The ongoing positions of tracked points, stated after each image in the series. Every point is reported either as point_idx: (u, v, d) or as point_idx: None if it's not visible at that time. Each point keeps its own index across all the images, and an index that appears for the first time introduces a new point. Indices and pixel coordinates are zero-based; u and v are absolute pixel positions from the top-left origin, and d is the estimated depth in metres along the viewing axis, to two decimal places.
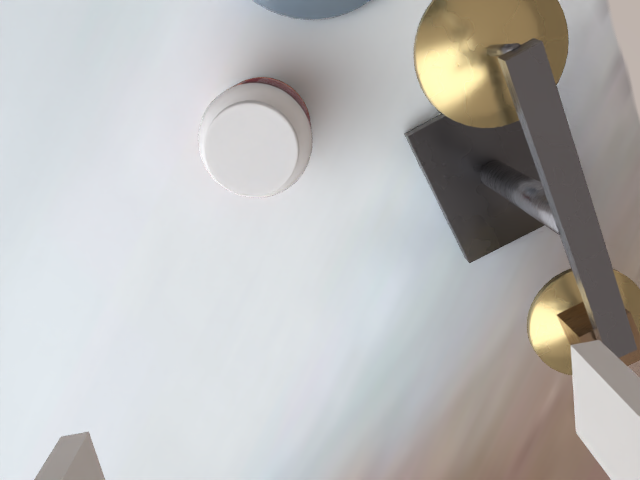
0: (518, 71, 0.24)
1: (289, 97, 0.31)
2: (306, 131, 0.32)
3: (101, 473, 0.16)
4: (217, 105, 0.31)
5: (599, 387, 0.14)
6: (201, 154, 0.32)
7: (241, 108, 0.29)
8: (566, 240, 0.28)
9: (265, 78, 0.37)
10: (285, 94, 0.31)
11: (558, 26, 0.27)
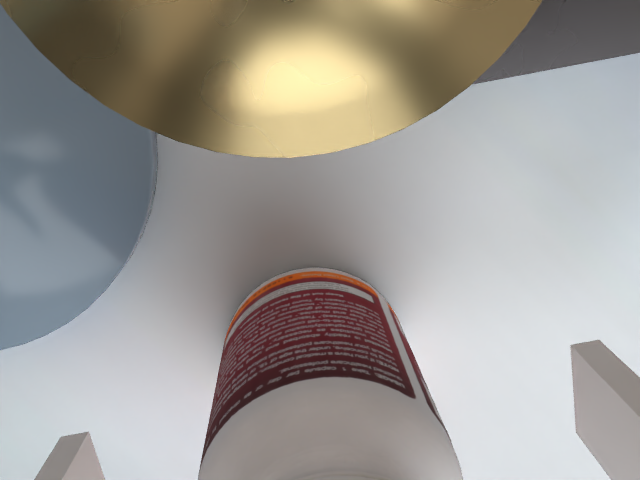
0: None
1: (254, 416, 0.13)
2: (346, 414, 0.12)
3: (101, 473, 0.16)
4: None
5: (598, 387, 0.14)
6: None
7: None
8: None
9: (226, 341, 0.19)
10: (244, 423, 0.13)
11: None
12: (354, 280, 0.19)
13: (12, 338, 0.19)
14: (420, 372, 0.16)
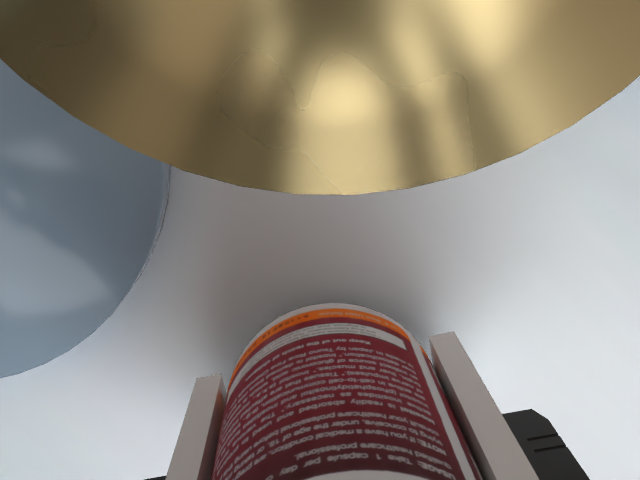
0: None
1: None
2: None
3: None
4: None
5: (442, 373, 0.16)
6: None
7: None
8: None
9: (230, 392, 0.16)
10: None
11: None
12: (381, 319, 0.16)
13: (7, 366, 0.17)
14: (466, 442, 0.13)
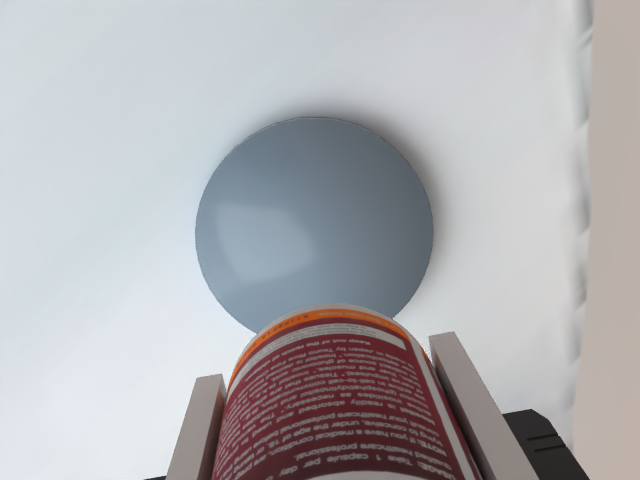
0: None
1: None
2: None
3: None
4: None
5: (442, 372, 0.16)
6: None
7: None
8: None
9: (229, 393, 0.16)
10: None
11: None
12: (381, 320, 0.16)
13: (206, 270, 0.33)
14: (466, 443, 0.13)
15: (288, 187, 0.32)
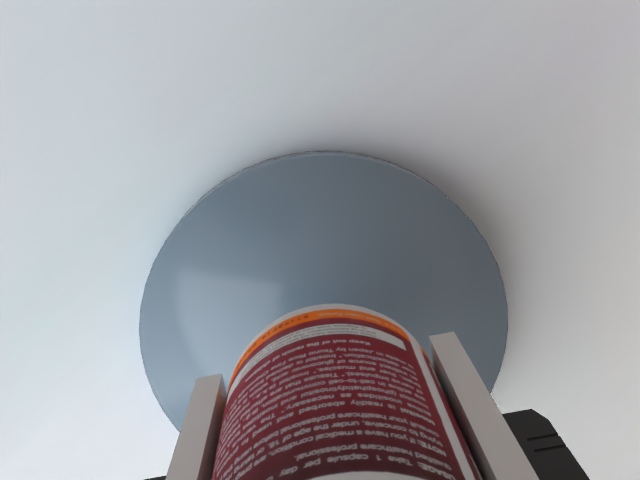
0: None
1: None
2: None
3: None
4: None
5: (442, 373, 0.16)
6: None
7: None
8: None
9: (230, 393, 0.16)
10: None
11: None
12: (381, 320, 0.16)
13: (158, 385, 0.22)
14: (466, 443, 0.13)
15: (285, 262, 0.20)
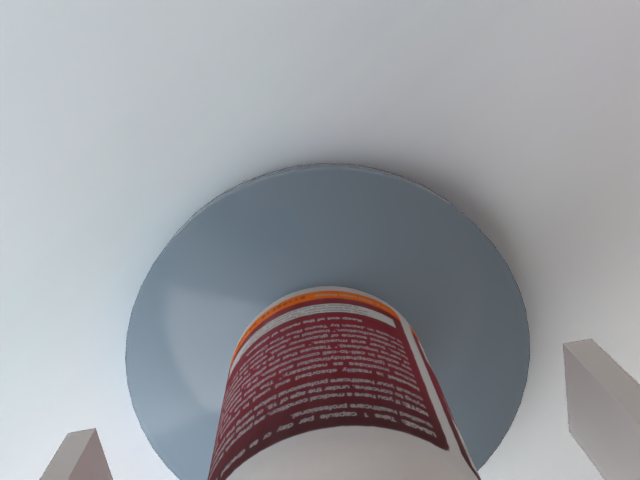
0: None
1: (261, 473, 0.11)
2: (369, 474, 0.10)
3: (107, 469, 0.16)
4: None
5: (590, 385, 0.14)
6: None
7: None
8: None
9: (231, 368, 0.17)
10: None
11: None
12: (373, 301, 0.18)
13: (147, 420, 0.20)
14: None
15: (285, 286, 0.18)
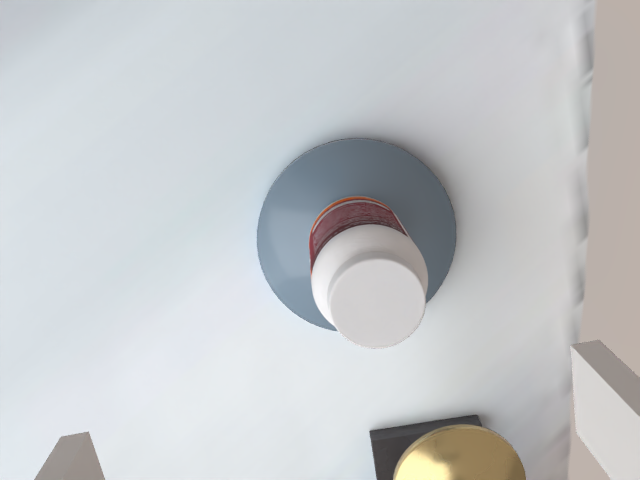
0: None
1: (340, 237, 0.31)
2: (379, 235, 0.30)
3: (101, 473, 0.16)
4: (323, 307, 0.31)
5: (598, 387, 0.14)
6: None
7: (334, 298, 0.28)
8: None
9: (313, 229, 0.37)
10: (336, 240, 0.31)
11: None
12: (379, 202, 0.37)
13: (264, 264, 0.39)
14: None
15: (337, 196, 0.38)
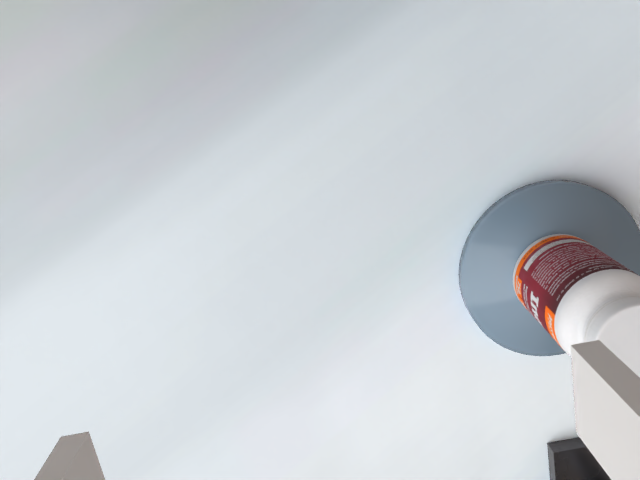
0: None
1: (588, 282, 0.34)
2: (626, 279, 0.34)
3: (100, 473, 0.16)
4: (570, 344, 0.35)
5: (599, 387, 0.14)
6: None
7: (600, 340, 0.32)
8: None
9: (526, 267, 0.40)
10: (584, 284, 0.34)
11: None
12: (582, 239, 0.41)
13: (468, 297, 0.43)
14: None
15: (538, 234, 0.42)
